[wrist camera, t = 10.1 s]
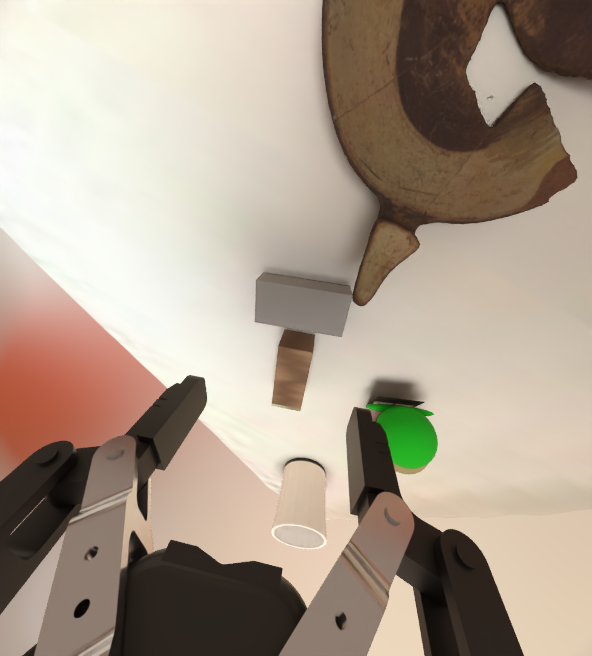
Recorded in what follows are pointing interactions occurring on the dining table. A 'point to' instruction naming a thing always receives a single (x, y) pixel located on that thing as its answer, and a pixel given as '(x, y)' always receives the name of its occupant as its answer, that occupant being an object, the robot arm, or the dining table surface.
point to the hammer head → (302, 304)
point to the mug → (301, 506)
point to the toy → (406, 433)
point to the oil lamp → (443, 114)
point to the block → (292, 369)
